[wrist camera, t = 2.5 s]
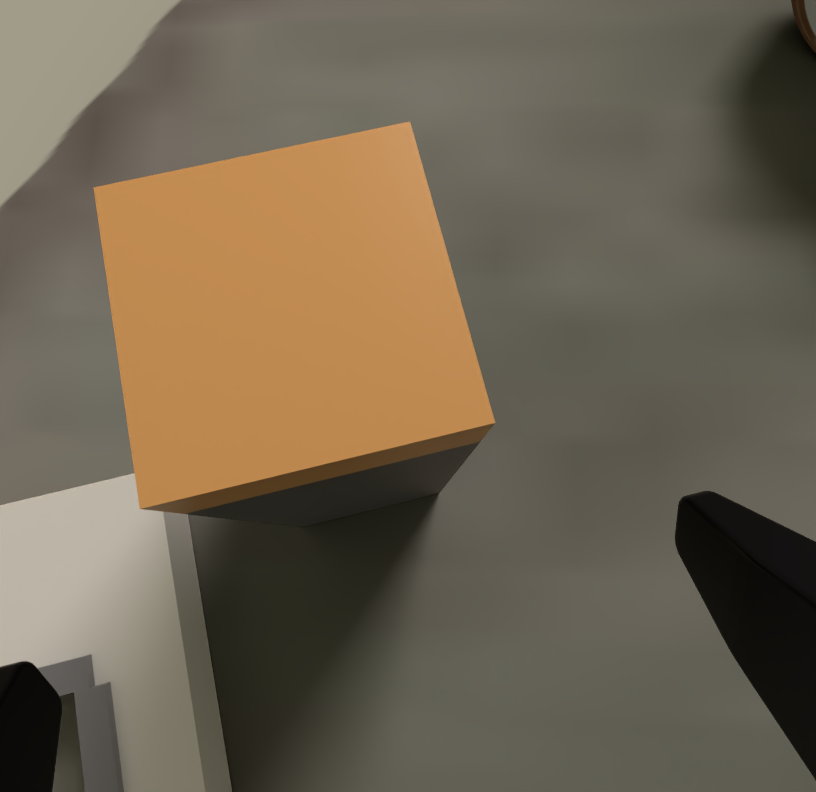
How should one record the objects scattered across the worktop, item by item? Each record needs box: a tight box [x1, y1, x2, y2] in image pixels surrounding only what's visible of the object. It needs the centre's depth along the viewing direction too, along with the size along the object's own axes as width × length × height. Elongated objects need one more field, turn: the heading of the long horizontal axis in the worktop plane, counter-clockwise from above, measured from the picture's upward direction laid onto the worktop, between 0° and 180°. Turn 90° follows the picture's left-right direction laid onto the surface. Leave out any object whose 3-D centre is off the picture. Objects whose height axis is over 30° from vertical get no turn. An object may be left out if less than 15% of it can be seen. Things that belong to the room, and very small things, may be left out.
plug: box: [94, 122, 495, 527], centre depth 14 cm, size 4×4×12 cm
